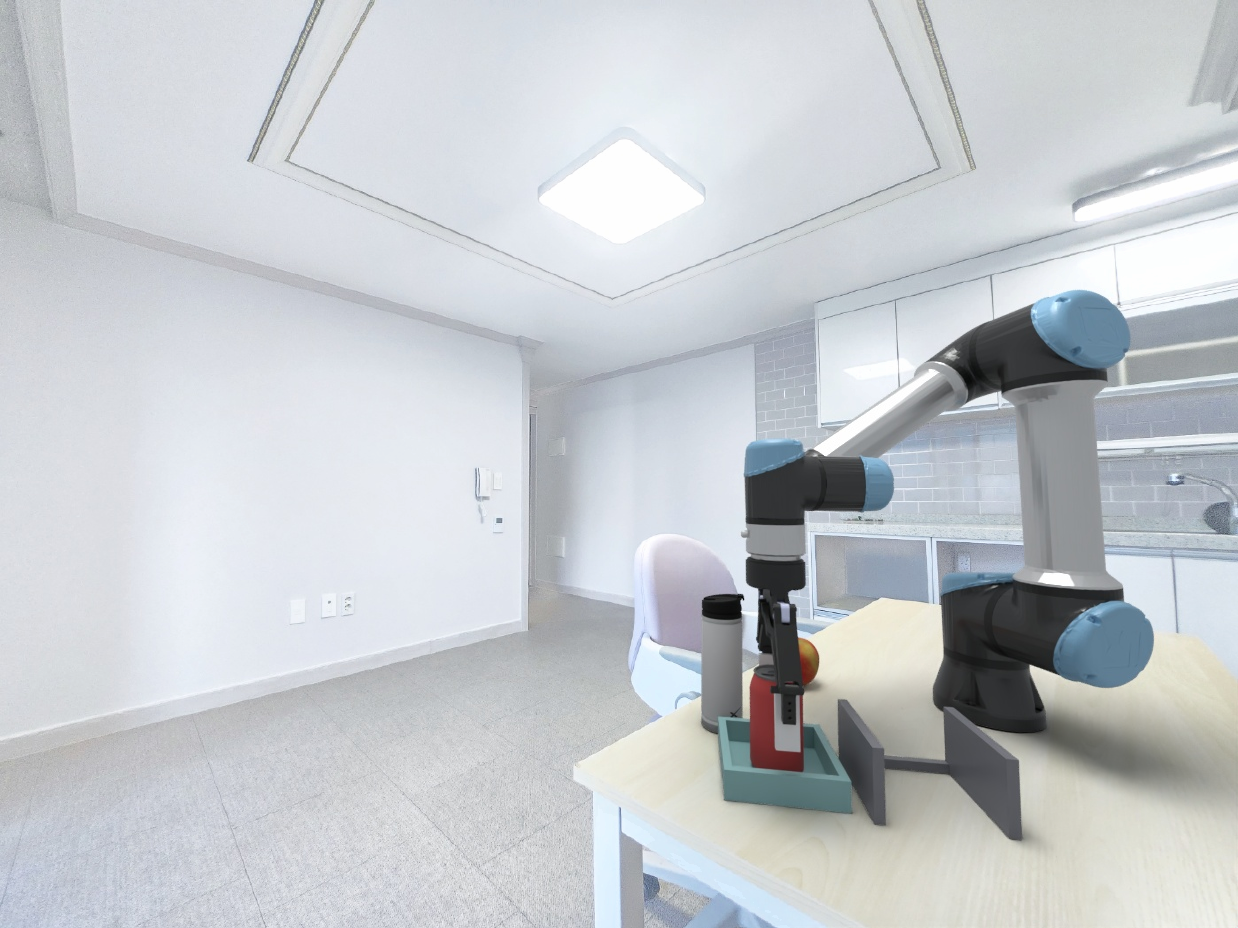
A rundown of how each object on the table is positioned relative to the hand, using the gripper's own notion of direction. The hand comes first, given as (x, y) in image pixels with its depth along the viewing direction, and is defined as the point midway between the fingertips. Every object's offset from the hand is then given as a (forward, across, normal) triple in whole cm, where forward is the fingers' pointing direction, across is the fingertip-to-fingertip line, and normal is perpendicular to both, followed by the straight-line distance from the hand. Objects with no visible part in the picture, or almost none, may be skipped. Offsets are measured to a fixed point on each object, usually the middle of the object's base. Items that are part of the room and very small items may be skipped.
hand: (777, 722), depth 63 cm
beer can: (+6, 0, 0) cm, 6 cm away
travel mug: (+6, -12, -6) cm, 15 cm away
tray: (+6, 0, 0) cm, 6 cm away
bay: (+6, +2, +16) cm, 17 cm away
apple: (+6, -32, +9) cm, 34 cm away
